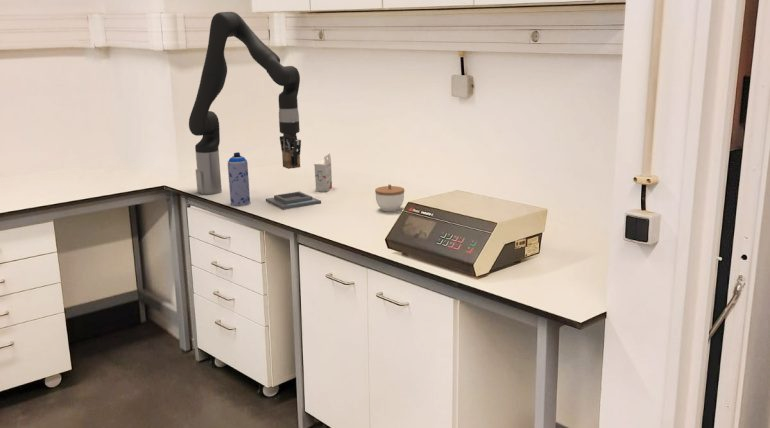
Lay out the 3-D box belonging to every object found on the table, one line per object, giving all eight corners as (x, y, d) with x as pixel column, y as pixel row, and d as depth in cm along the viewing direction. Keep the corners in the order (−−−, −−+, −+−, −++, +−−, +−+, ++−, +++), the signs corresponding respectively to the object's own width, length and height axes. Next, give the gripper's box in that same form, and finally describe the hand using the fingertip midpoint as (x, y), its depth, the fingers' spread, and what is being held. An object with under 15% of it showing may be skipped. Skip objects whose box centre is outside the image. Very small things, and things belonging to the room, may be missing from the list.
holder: (283, 209, 267) (282, 203, 266) (265, 201, 280) (265, 195, 279) (321, 203, 275) (320, 196, 275) (302, 195, 288) (302, 189, 288)
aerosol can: (239, 200, 282) (235, 150, 277) (254, 202, 278) (251, 151, 273) (225, 205, 275) (221, 153, 270) (241, 207, 271) (237, 155, 266)
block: (288, 168, 271) (287, 153, 269) (282, 166, 275) (282, 151, 273) (300, 167, 273) (299, 151, 272) (294, 165, 277) (293, 150, 276)
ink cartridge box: (321, 187, 302) (319, 152, 299) (332, 187, 301) (331, 153, 298) (315, 191, 294) (313, 156, 290) (326, 192, 293) (325, 156, 289)
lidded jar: (398, 214, 257) (397, 189, 255) (370, 211, 261) (370, 186, 259) (408, 207, 267) (408, 182, 264) (382, 205, 271) (381, 180, 269)
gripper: (271, 119, 273) (274, 162, 278) (288, 123, 262) (290, 168, 266) (289, 117, 277) (292, 160, 282) (306, 121, 266) (308, 166, 270)
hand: (291, 164), depth 274 cm, fingers closed on block, 5 cm apart
